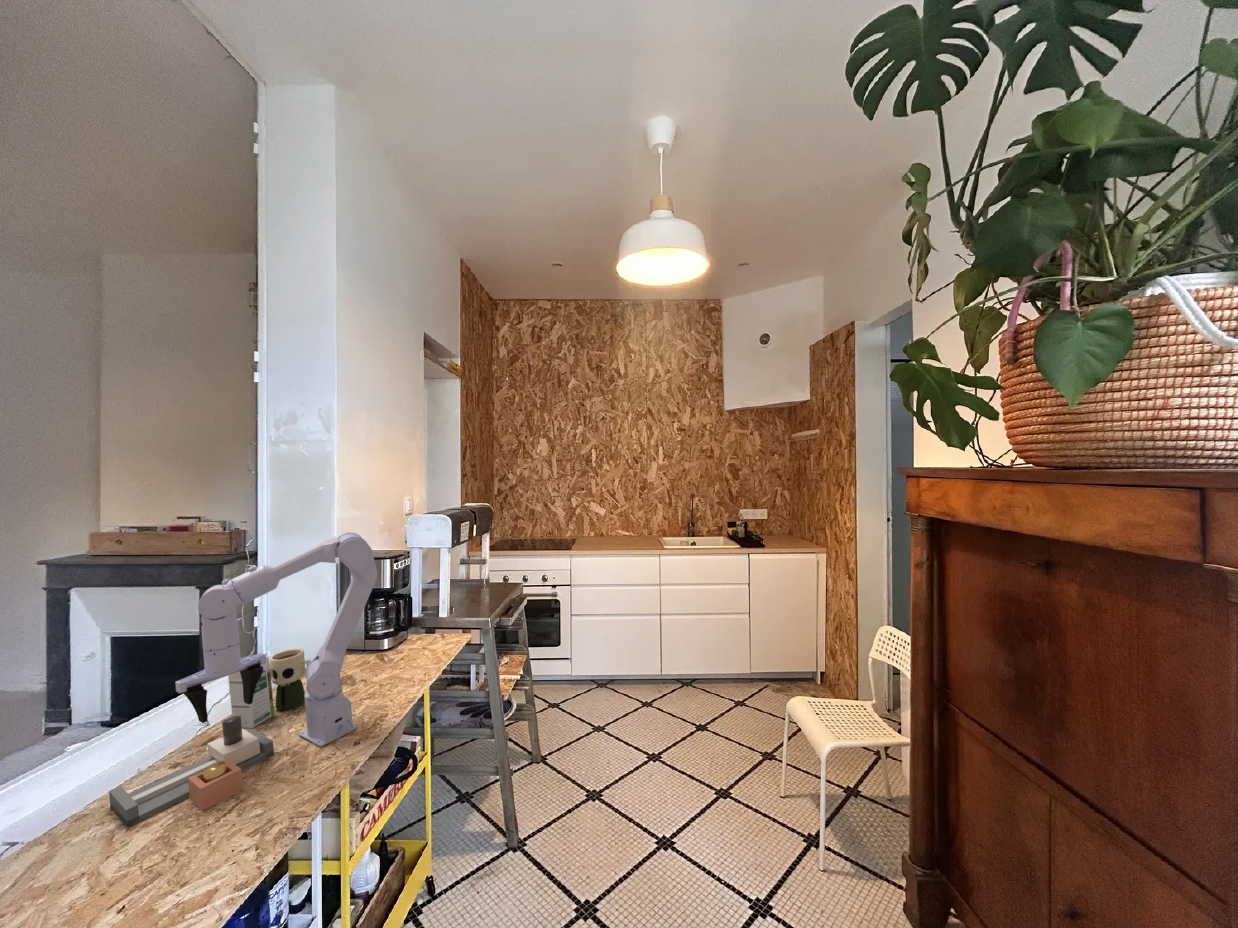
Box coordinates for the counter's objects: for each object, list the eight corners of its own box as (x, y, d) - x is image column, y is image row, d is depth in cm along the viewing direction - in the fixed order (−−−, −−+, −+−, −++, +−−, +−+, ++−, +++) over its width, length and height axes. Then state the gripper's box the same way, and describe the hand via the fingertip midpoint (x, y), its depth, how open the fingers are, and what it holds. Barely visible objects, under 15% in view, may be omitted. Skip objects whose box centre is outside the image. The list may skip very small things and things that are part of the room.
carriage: (260, 752, 100) (257, 717, 100) (224, 769, 95) (221, 732, 95) (243, 742, 104) (240, 708, 104) (208, 757, 99) (205, 722, 99)
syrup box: (252, 728, 112) (247, 666, 112) (231, 727, 113) (226, 665, 113) (275, 715, 118) (270, 655, 117) (254, 714, 119) (249, 655, 118)
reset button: (229, 780, 90) (228, 764, 90) (208, 791, 88) (206, 774, 88) (222, 774, 92) (221, 759, 92) (201, 785, 89) (200, 769, 89)
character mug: (258, 715, 118) (254, 662, 118) (276, 700, 125) (273, 650, 125) (305, 710, 119) (301, 658, 119) (321, 696, 126) (317, 646, 126)
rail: (274, 754, 101) (272, 740, 101) (127, 827, 83) (125, 810, 83) (252, 741, 107) (251, 728, 107) (110, 807, 88) (109, 790, 88)
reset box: (243, 789, 91) (241, 768, 91) (202, 810, 86) (200, 788, 86) (229, 779, 94) (227, 759, 94) (189, 799, 89) (187, 777, 89)
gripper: (253, 630, 107) (257, 691, 108) (167, 656, 95) (172, 724, 95) (269, 635, 104) (273, 698, 104) (181, 662, 91) (187, 733, 92)
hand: (226, 711), depth 99 cm, fingers open, 7 cm apart
